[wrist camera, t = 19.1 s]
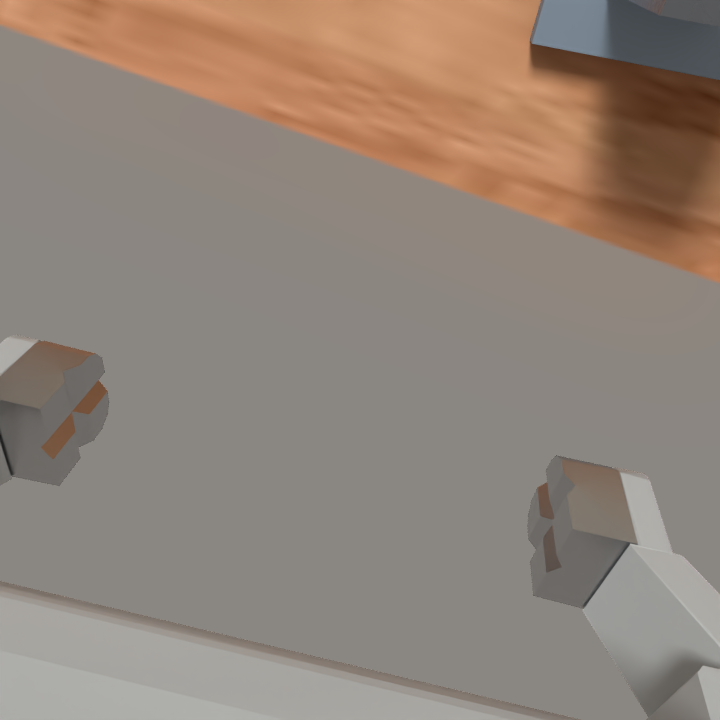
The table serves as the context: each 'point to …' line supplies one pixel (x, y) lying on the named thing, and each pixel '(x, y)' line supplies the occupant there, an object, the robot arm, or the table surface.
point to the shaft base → (628, 35)
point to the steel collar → (685, 9)
